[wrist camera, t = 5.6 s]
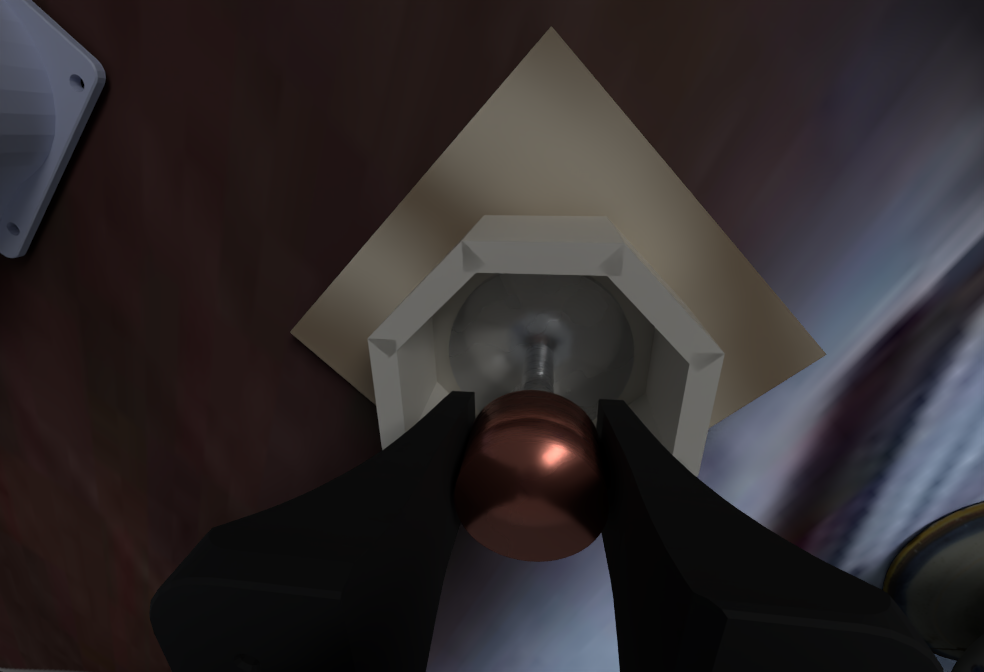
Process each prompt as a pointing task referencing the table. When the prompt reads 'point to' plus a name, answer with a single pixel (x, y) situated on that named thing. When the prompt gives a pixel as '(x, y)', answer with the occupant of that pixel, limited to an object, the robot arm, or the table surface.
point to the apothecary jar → (945, 587)
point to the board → (563, 192)
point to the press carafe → (558, 251)
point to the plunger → (537, 410)
